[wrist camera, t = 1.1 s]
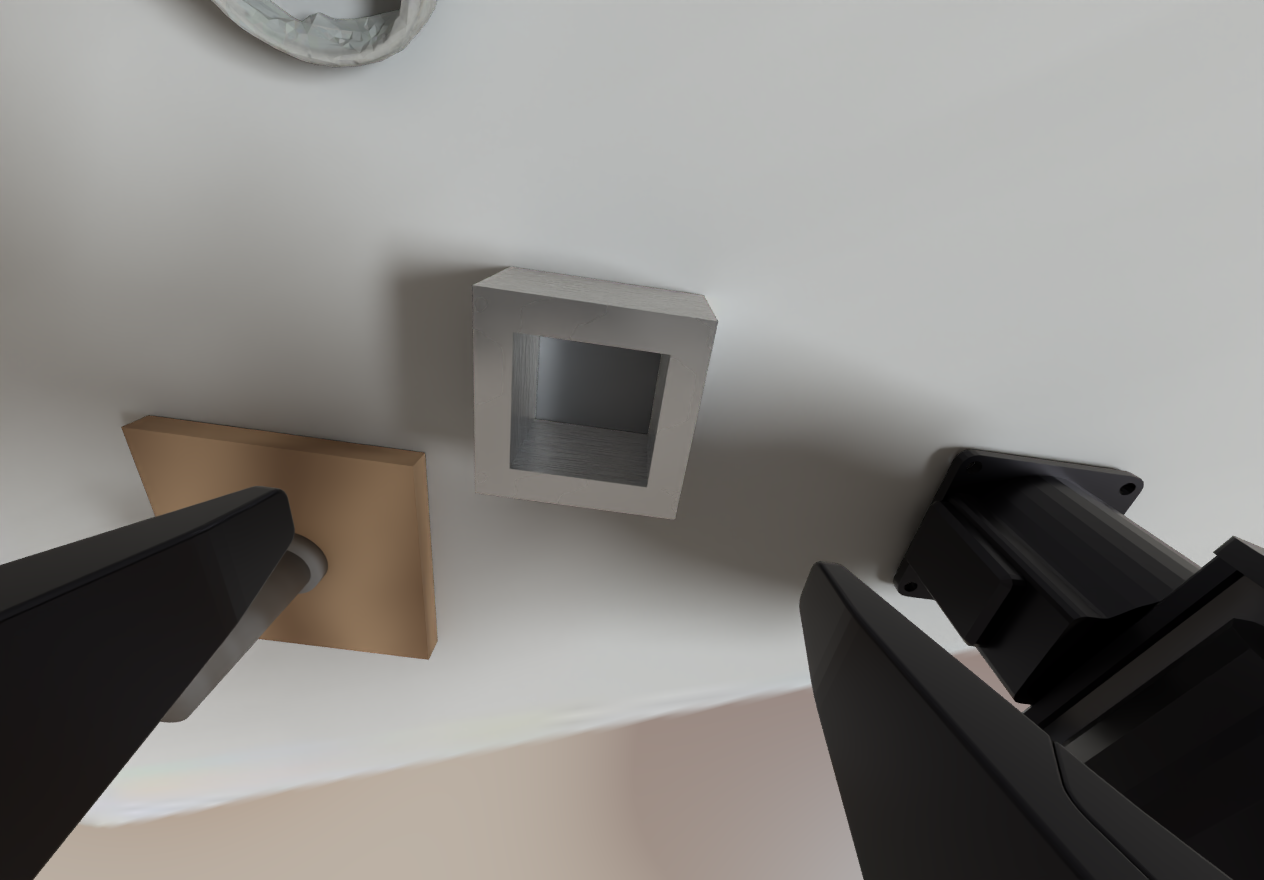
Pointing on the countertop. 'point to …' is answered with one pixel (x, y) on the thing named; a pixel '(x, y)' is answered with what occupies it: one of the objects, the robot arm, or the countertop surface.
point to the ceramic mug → (331, 31)
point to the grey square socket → (575, 454)
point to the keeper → (308, 537)
